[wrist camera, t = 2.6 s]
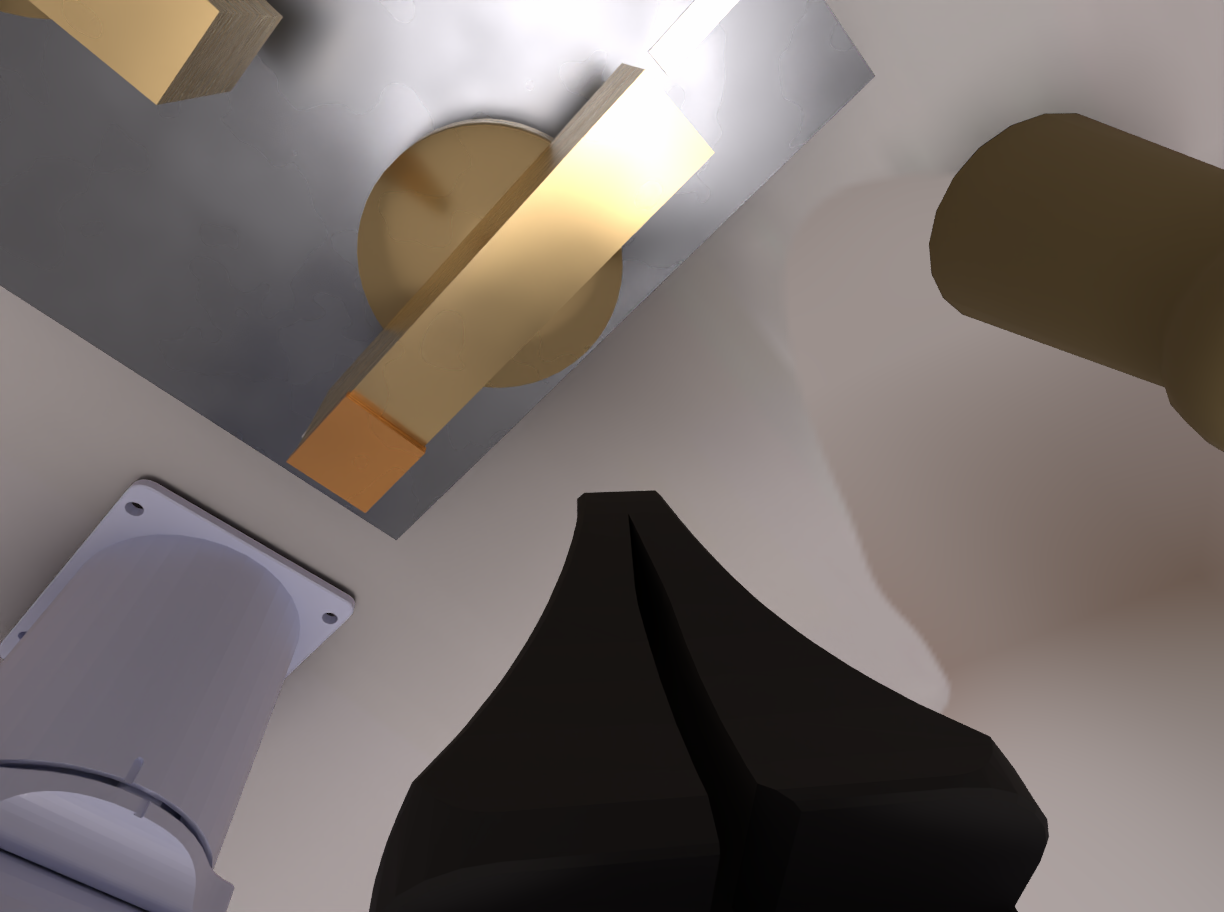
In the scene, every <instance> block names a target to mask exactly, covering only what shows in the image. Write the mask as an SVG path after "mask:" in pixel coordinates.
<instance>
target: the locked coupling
mask: <svg viewBox="0 0 1224 912" xmlns="http://www.w3.org/2000/svg"><path fill="white" fill-rule="evenodd" d="M713 154H714V152H713V150H712V149H711V148H710V147H709V146H708V144H707V143H706V142H705V141H704V140H703V138H702V137H701V136H700V135H699V134H698V132H697V131H696V130H695V129H694V128H693V126H692V125H691V124H690V123H689V122H688V120H687V119H686V118H685V117H684V116H683V114H682V113H681V112H680V111H679V109H678V108H677V107H676V106H675V105H674V103H673V102H672V101H671V100H670V99H669V97H668V96H667V95H666V94H665V93H664V91H663V90H662V89H661V88H660V87H659V85H658V84H657V83H656V82H655V81H654V79H653V78H652V77H651V76H650V75H649V73H648V72H647V71H646V70H645V69H642V68H638V67H634V66H630V65H627V64H623V63H622V64H621V65H620V66H619V67H618V68H617V69H616V70H615V71H614V72H613V74H612V75H611V76H610V77H609V78H608V79H607V80H606V81H605V83H604V84H603V85H602V86H601V87H600V88H599V89H598V90H597V91H596V93H595V94H594V95H593V96H592V97H591V98H590V99H589V100H588V101H587V103H586V104H585V105H584V106H583V107H582V108H581V109H580V110H579V112H578V113H577V114H576V115H575V116H574V117H573V118H572V119H571V120H570V122H569V123H568V124H567V125H566V126H565V127H564V128H563V129H562V131H561V132H560V133H559V134H558V135H557V136H556V137H555V138H553V137H551V136H549V135H547V134H545V133H543V132H541V131H539V130H537V129H535V128H532V127H529V126H527V125H524V124H521V123H517V122H512V121H508V120H502V119H489V118H484V119H469V120H464V121H460V122H455V123H451V124H448V125H446V126H443V127H441V128H438V129H436V130H434V131H432V132H430V133H428V134H427V135H425V136H423V137H421V138H420V139H419V140H417V141H416V142H415V143H413V144H412V145H411V146H410V147H408V148H407V149H406V150H405V151H404V152H403V153H402V154H401V155H400V156H399V157H398V158H397V159H396V160H395V161H394V162H393V163H392V164H391V165H390V166H389V167H388V168H387V169H386V170H385V171H384V173H383V174H382V176H381V177H380V178H379V180H378V181H377V183H376V184H375V186H374V187H373V189H372V191H371V193H370V195H369V197H368V199H367V201H366V204H365V207H364V210H363V213H362V216H361V220H360V226H359V231H358V241H357V258H358V268H359V274H360V278H361V283H362V287H363V290H364V293H365V295H366V298H367V301H368V303H369V305H370V307H371V309H372V311H373V313H374V315H375V317H376V319H377V320H378V322H379V323H380V325H381V326H382V328H383V330H382V331H381V333H380V334H379V335H378V336H377V337H376V338H375V339H374V340H373V341H372V343H371V344H370V345H369V346H368V347H367V348H366V349H365V350H364V352H363V353H362V354H361V355H360V356H359V357H358V358H357V359H356V360H355V362H354V363H353V364H352V365H351V366H350V367H349V368H348V369H347V370H346V372H345V373H344V374H343V375H342V376H341V377H340V378H339V379H338V381H337V382H336V383H335V384H334V385H333V386H332V387H331V388H330V389H329V391H328V393H327V395H326V397H325V398H324V400H323V402H322V404H321V406H320V407H319V409H318V411H317V413H316V415H315V416H314V418H313V420H312V422H311V424H310V425H309V427H308V429H307V431H306V433H305V434H304V436H303V438H302V440H301V442H300V443H299V445H298V447H297V448H296V449H295V451H294V452H293V453H292V454H291V455H290V456H289V458H288V460H287V461H286V462H287V463H289V464H290V465H292V466H293V467H295V468H296V469H298V470H299V471H301V472H302V473H304V474H306V475H307V476H309V477H310V478H312V479H313V480H315V481H316V482H318V483H319V484H321V485H323V486H324V487H326V488H327V489H329V490H330V491H332V492H333V493H335V494H336V495H338V496H340V497H341V498H343V499H344V500H346V501H347V502H349V503H350V504H352V505H353V506H355V507H356V508H358V509H360V510H361V511H363V512H364V513H366V512H367V511H368V510H369V509H370V508H371V507H372V506H373V505H374V504H375V503H376V502H377V501H378V500H379V499H380V498H381V497H382V496H383V495H384V494H385V493H386V492H387V491H388V490H389V489H390V488H391V487H392V486H393V485H394V484H395V483H396V482H397V481H398V480H399V479H400V478H401V477H402V476H403V475H404V474H405V473H406V472H407V471H408V470H409V469H410V468H411V467H412V466H413V465H414V464H415V463H416V462H417V461H418V460H419V459H420V458H421V457H422V456H423V455H424V454H425V451H426V447H425V445H426V444H427V443H428V442H429V441H430V440H431V439H432V438H433V437H434V436H435V435H436V434H437V433H438V432H439V431H440V430H441V429H442V428H443V427H444V426H445V425H446V424H447V423H448V422H449V421H450V420H451V419H452V418H453V417H454V416H455V415H456V414H457V413H458V412H459V411H460V410H461V409H462V408H463V407H464V406H465V405H466V404H467V403H468V402H469V401H470V400H471V399H472V398H473V397H474V396H475V395H476V394H477V393H478V392H479V391H480V390H481V389H482V388H483V387H491V388H505V387H516V386H521V385H526V384H530V383H534V382H537V381H540V380H543V379H546V378H548V377H550V376H552V375H554V374H556V373H558V372H560V371H562V370H564V369H565V368H567V367H568V366H570V365H571V364H573V363H574V362H575V361H576V360H578V359H579V358H580V357H581V356H582V355H584V354H585V353H586V352H587V351H588V350H589V348H590V347H591V346H592V345H593V344H594V343H595V342H596V341H597V339H598V338H599V336H600V335H601V333H602V332H603V330H604V329H605V327H606V325H607V323H608V321H609V320H610V318H611V316H612V313H613V311H614V308H615V305H616V302H617V300H618V295H619V291H620V286H621V279H622V267H623V266H622V248H621V247H622V246H623V245H624V244H625V243H626V242H627V241H628V240H629V239H630V238H631V237H632V236H633V235H634V234H635V233H636V232H637V231H638V230H639V229H640V228H641V227H642V226H643V225H644V224H645V223H646V222H647V221H648V220H649V219H650V217H651V216H652V215H653V214H654V213H655V212H656V211H657V210H658V209H659V208H660V207H661V206H662V205H663V204H664V203H665V202H666V201H667V200H668V199H669V198H670V197H671V196H672V195H673V194H674V193H675V192H676V191H677V190H678V189H679V188H680V187H681V186H682V185H683V184H684V183H685V182H686V181H687V180H688V179H689V178H690V177H691V176H692V175H693V174H694V173H695V172H696V171H697V170H698V169H699V168H700V167H701V166H702V165H703V164H704V163H705V162H706V161H707V160H708V159H709V158H710V157H711V156H712V155H713Z"/></svg>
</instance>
